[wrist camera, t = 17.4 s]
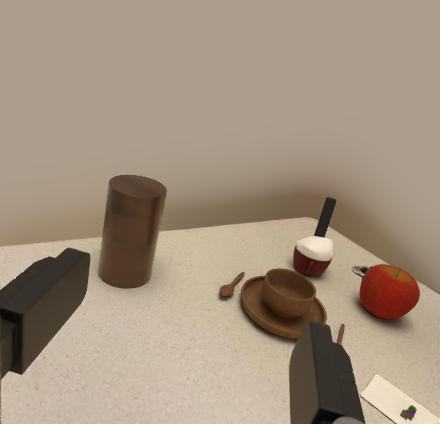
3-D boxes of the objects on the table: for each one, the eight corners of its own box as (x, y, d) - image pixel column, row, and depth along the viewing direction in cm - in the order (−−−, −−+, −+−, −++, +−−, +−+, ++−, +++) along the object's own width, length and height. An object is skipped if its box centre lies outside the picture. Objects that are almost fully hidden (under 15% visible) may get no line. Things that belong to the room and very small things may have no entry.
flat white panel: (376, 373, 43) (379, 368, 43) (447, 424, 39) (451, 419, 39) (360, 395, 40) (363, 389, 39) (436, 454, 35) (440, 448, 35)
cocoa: (311, 287, 58) (338, 221, 53) (278, 267, 61) (301, 203, 56) (335, 270, 65) (361, 210, 60) (305, 253, 68) (327, 195, 63)
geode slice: (397, 295, 62) (401, 286, 61) (350, 277, 64) (354, 267, 63) (394, 277, 68) (399, 269, 67) (352, 260, 70) (355, 252, 69)
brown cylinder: (130, 295, 46) (145, 203, 41) (86, 273, 48) (96, 182, 43) (160, 271, 52) (176, 188, 47) (120, 252, 54) (132, 171, 49)
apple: (366, 290, 61) (385, 250, 58) (411, 319, 56) (435, 278, 53) (343, 303, 56) (363, 260, 53) (391, 336, 51) (416, 292, 48)
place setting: (349, 318, 53) (365, 285, 50) (325, 427, 35) (348, 384, 33) (240, 268, 58) (250, 236, 56) (174, 341, 41) (184, 299, 38)
